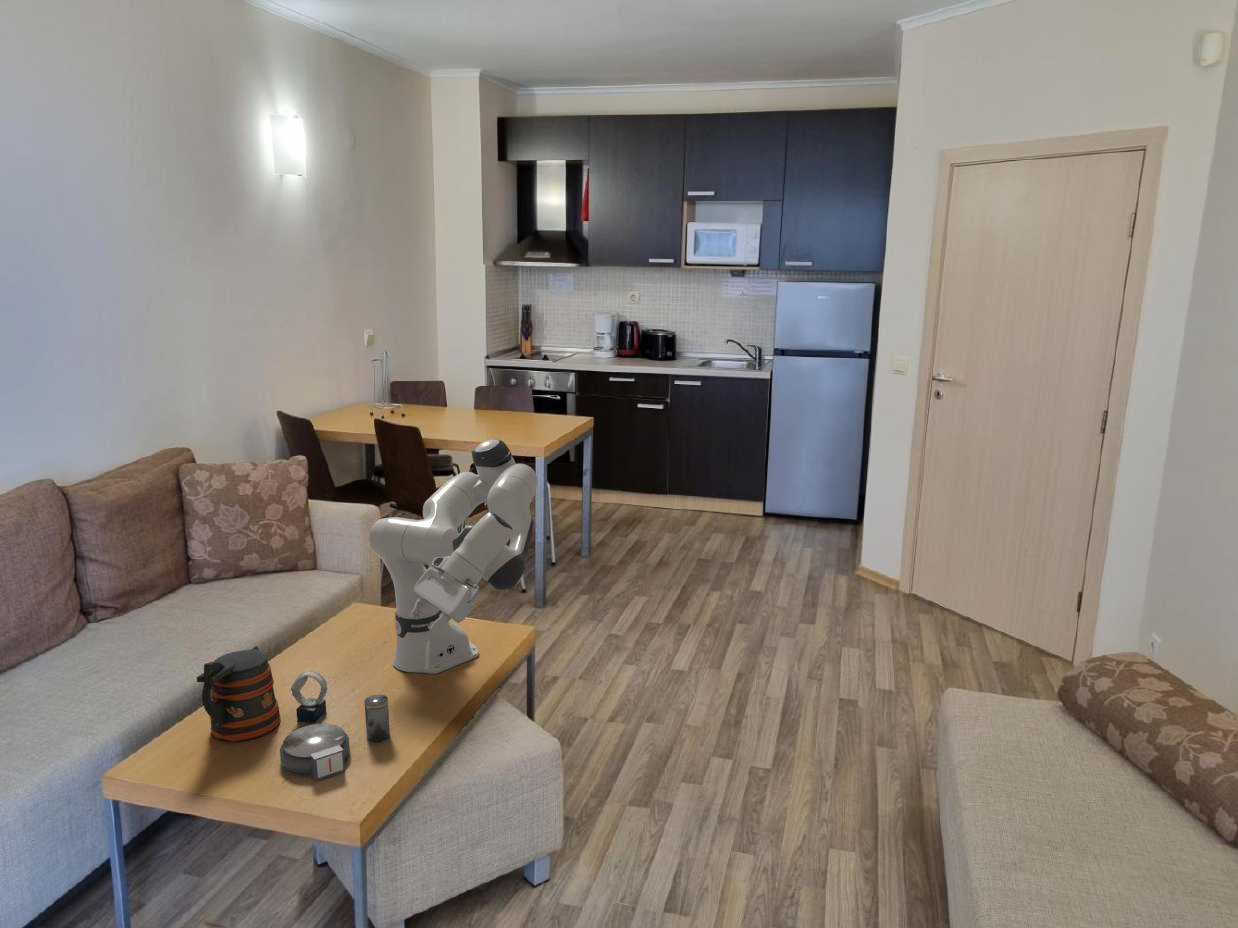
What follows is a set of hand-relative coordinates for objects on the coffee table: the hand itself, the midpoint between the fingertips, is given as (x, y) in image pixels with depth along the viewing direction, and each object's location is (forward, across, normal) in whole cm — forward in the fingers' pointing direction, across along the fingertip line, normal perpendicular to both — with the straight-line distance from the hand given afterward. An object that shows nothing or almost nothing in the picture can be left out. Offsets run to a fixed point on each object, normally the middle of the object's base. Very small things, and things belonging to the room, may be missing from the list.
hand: (422, 623), depth 197 cm
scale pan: (+33, +1, +3) cm, 33 cm away
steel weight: (+25, +1, -10) cm, 27 cm away
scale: (+35, 0, 0) cm, 35 cm away
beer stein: (+42, +22, +7) cm, 48 cm away
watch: (+32, +19, -3) cm, 37 cm away
